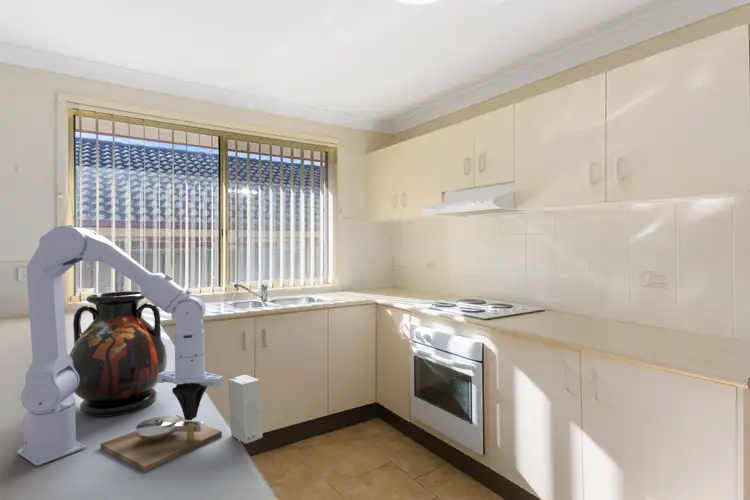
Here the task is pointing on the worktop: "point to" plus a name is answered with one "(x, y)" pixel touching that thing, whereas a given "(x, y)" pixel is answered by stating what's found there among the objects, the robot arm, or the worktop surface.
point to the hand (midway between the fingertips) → (190, 418)
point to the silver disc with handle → (165, 426)
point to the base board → (158, 446)
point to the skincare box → (245, 408)
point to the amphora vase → (117, 354)
